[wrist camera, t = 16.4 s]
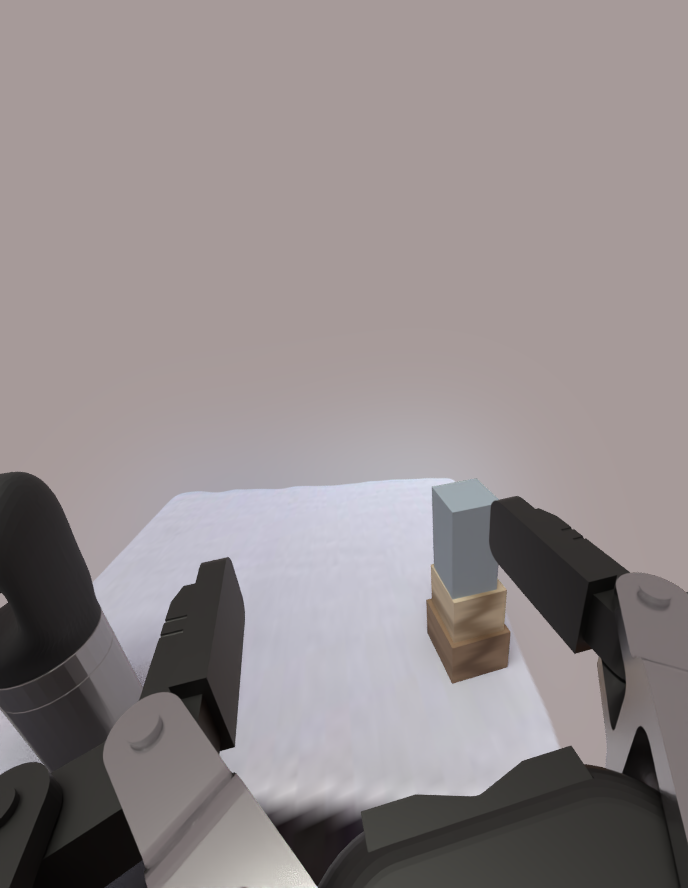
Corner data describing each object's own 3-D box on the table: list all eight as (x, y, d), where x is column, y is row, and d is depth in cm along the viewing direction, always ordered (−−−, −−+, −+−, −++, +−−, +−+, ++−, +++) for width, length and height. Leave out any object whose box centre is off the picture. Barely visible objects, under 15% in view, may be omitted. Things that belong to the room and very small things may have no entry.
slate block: (452, 599, 38) (452, 512, 34) (434, 567, 43) (431, 486, 39) (496, 589, 39) (502, 502, 35) (473, 558, 43) (476, 478, 39)
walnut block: (452, 684, 42) (452, 648, 40) (427, 633, 48) (426, 599, 46) (507, 667, 43) (510, 631, 41) (476, 620, 49) (477, 586, 47)
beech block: (453, 643, 40) (453, 603, 38) (432, 601, 46) (430, 564, 43) (503, 629, 41) (506, 590, 39) (476, 590, 46) (477, 553, 44)
